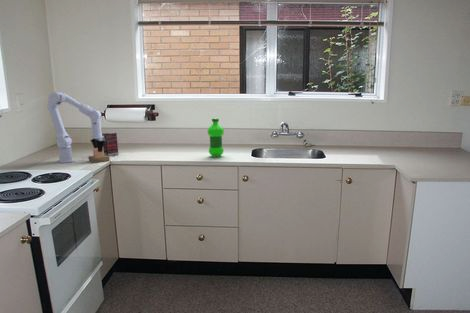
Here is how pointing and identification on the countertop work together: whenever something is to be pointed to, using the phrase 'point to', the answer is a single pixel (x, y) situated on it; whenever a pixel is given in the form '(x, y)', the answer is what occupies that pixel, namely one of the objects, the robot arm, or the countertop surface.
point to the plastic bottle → (215, 138)
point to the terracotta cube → (97, 153)
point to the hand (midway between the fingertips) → (98, 150)
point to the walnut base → (99, 159)
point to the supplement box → (110, 144)
